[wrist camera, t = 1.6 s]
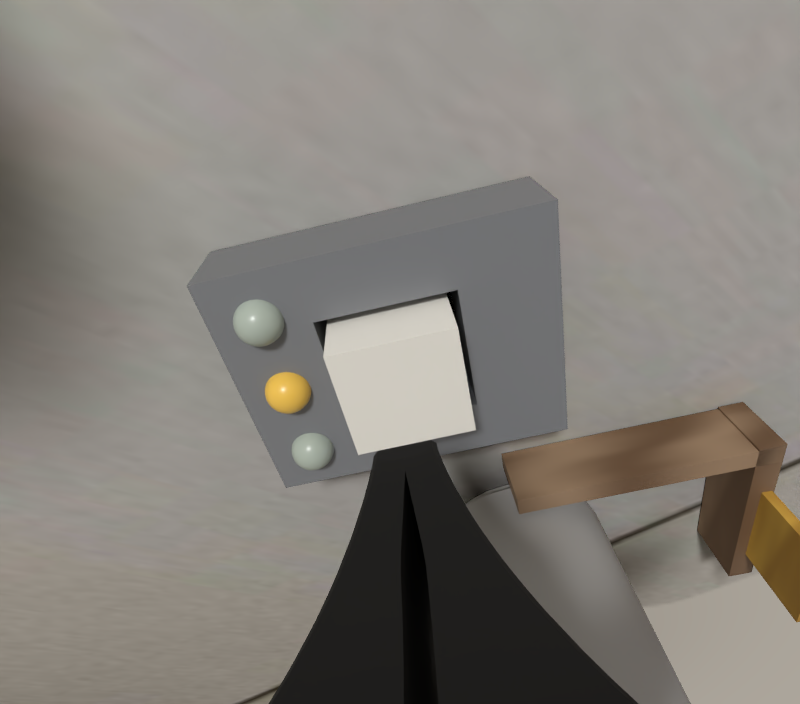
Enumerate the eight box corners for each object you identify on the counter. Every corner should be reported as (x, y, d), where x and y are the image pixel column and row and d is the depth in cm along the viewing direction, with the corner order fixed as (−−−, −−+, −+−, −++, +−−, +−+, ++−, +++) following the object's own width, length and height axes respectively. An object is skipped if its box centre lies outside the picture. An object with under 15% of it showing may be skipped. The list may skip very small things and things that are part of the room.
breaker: (445, 291, 15) (458, 327, 13) (462, 386, 17) (476, 430, 15) (327, 317, 15) (323, 357, 13) (358, 409, 17) (358, 455, 15)
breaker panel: (529, 176, 15) (567, 207, 12) (544, 385, 19) (575, 443, 17) (210, 252, 15) (178, 297, 13) (293, 439, 20) (283, 503, 17)
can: (448, 466, 21) (532, 858, 11) (613, 473, 22) (829, 840, 12) (421, 574, 25) (465, 938, 15) (562, 576, 26) (693, 919, 16)
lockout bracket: (743, 402, 20) (856, 509, 16) (717, 526, 25) (801, 639, 20) (501, 452, 21) (541, 570, 16) (517, 565, 25) (553, 684, 21)
